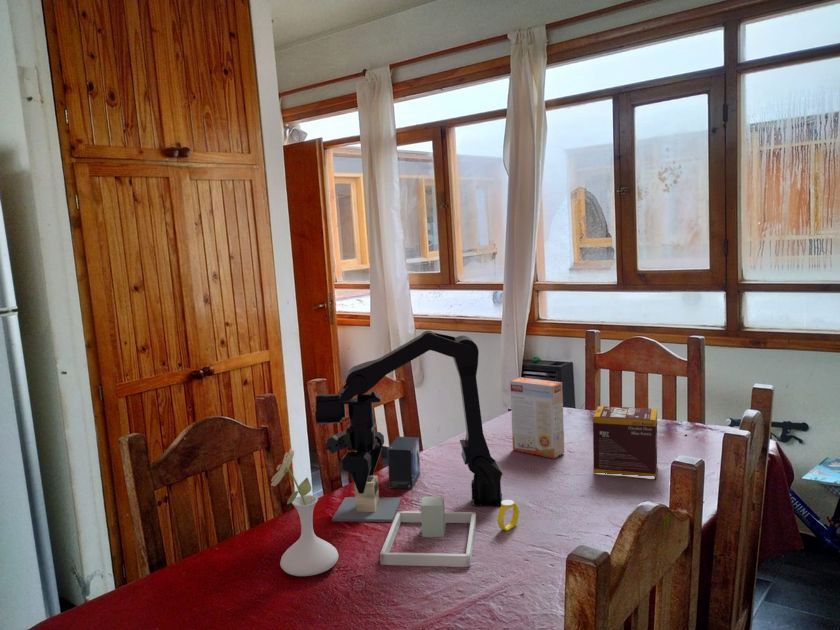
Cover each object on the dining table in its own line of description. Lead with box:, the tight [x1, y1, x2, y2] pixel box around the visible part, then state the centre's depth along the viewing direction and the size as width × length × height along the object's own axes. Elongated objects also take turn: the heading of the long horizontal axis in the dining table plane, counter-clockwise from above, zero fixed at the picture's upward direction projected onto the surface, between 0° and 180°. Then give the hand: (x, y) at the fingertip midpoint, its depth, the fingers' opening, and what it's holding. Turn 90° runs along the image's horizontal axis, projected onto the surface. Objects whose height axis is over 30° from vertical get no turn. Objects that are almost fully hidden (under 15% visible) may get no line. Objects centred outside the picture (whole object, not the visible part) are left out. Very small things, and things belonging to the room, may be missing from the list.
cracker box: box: [510, 376, 565, 459], centre depth 184 cm, size 14×6×21 cm, turn 47°
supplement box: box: [592, 405, 658, 478], centre depth 168 cm, size 10×15×16 cm
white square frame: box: [379, 510, 477, 568], centre depth 135 cm, size 18×20×2 cm
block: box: [420, 496, 446, 538], centre depth 139 cm, size 4×4×7 cm
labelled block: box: [354, 475, 380, 512], centre depth 152 cm, size 4×5×7 cm
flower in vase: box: [270, 448, 339, 577], centre depth 125 cm, size 13×11×25 cm
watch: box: [497, 499, 520, 532], centre depth 139 cm, size 6×3×6 cm, turn 137°
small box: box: [387, 436, 421, 490], centre depth 169 cm, size 11×6×10 cm, turn 168°
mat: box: [331, 496, 402, 523], centre depth 153 cm, size 14×12×1 cm
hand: (365, 485), depth 152 cm, fingers open, 9 cm apart
